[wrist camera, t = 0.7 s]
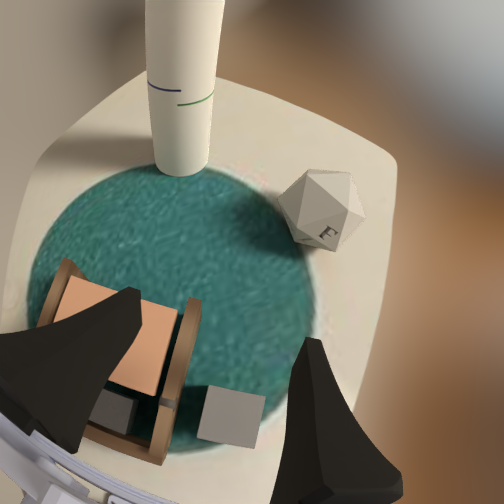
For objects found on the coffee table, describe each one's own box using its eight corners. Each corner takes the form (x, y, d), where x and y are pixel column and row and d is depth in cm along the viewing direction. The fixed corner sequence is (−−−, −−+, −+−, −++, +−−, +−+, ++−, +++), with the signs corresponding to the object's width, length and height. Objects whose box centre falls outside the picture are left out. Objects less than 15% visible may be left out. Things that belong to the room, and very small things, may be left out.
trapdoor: (148, 437, 19) (142, 442, 16) (47, 393, 18) (33, 392, 16) (179, 317, 24) (177, 310, 22) (81, 285, 23) (71, 275, 21)
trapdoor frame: (168, 454, 20) (160, 469, 15) (45, 402, 20) (15, 401, 15) (202, 317, 27) (202, 300, 22) (83, 280, 27) (62, 256, 22)
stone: (246, 439, 22) (254, 448, 18) (197, 429, 22) (196, 437, 18) (255, 395, 25) (265, 396, 21) (208, 385, 24) (209, 384, 20)
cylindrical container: (163, 137, 37) (162, -34, 16) (212, 142, 38) (234, -34, 16) (148, 173, 34) (133, -26, 12) (203, 179, 35) (223, -29, 13)
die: (256, 221, 34) (290, 230, 25) (290, 158, 34) (334, 145, 24) (311, 254, 37) (357, 271, 27) (341, 194, 37) (392, 194, 27)
